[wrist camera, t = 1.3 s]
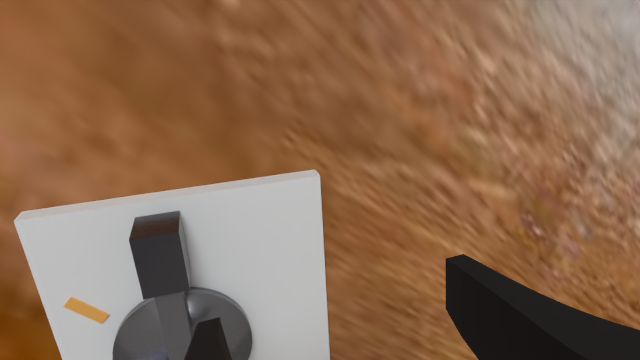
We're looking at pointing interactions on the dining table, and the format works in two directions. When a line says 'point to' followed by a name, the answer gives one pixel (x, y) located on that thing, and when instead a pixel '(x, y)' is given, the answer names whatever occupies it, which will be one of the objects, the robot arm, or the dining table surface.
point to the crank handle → (172, 298)
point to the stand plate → (205, 262)
